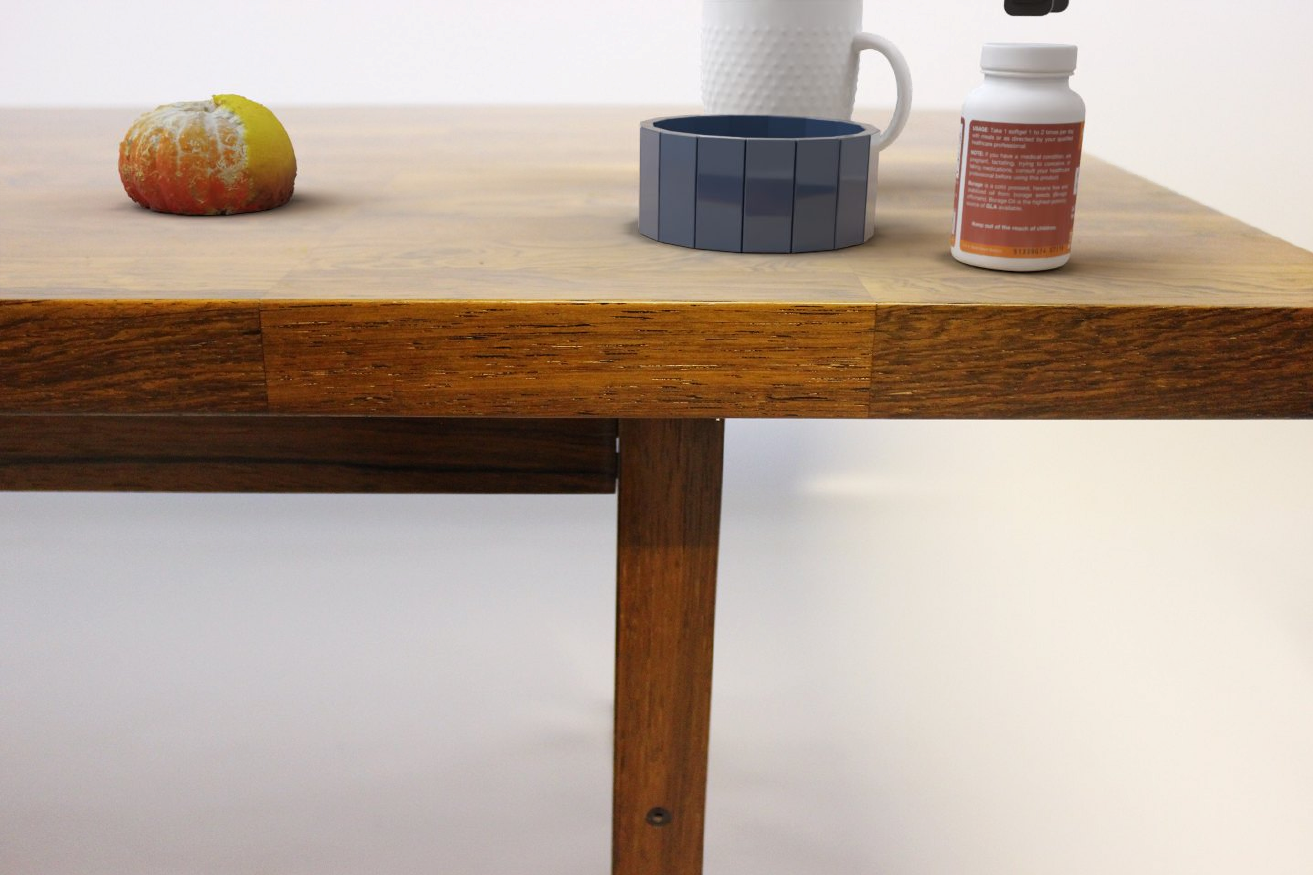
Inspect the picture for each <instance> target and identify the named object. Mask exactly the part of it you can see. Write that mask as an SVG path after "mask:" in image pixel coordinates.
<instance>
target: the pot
mask: <svg viewBox="0 0 1313 875" xmlns="http://www.w3.org/2000/svg"><path fill="white" fill-rule="evenodd" d="M638 128H639V129H638V130H639V132H638V134H639V135H638V136H639V137H638V139H639V140H638V149H639V150H638V210H637V211H638V218H637V220H638V222H637V224H638V232H639V234H641V235H644V236H645V237H648V238H650V239H653V240H655V241H657V242H660V243H664V244H671V245H675V246H680V247H685V248H690V249H698V250H710V251H720V252H730V253H731V252H732V253H741V252H742V253H754V254H755V253H760V254H761V253H763V254H764V253H768V254H771V253H773V254H775V253H778V254H782V253H783V254H788V253H792V254H795V253H808V252H822V251H832V250H839V249H842V248H843V249H844V248H848V247H852V246H856V245H862V244H864V243H866V242H867V241H868V240H869V239H871V238H872V237H873V236H874V234H875V220H876V206H877V204H876V203H877V193H878V192H877V191H878V175H879V164H880V163H879V161H880V152H879V148H880V136H881V132H882V131H881V129H879V128H878V127H876V126H875V125H873V124H870V123H864V122H860V121H854V120H851V121H850V120H842V119H832V118H822V117H810V116H793V115H774V114H771V115H769V114H705V113H702V114H679V115H670V116H659V117H653V118H648V119H646V120H641V121H639V126H638Z"/></svg>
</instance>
